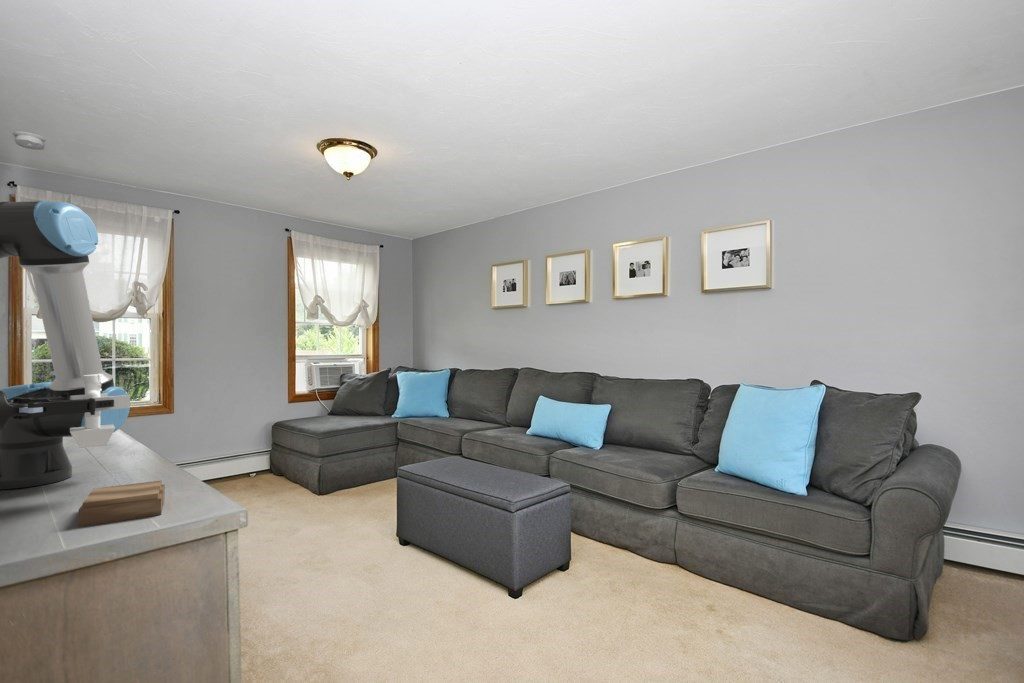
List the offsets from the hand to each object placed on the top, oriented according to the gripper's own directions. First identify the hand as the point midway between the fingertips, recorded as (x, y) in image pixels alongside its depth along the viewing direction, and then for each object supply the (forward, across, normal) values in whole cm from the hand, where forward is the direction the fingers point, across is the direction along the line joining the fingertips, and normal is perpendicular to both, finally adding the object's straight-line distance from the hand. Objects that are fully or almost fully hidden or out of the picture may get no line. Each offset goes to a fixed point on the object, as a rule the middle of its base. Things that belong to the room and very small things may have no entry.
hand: (117, 400), depth 112 cm
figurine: (-5, 0, -9) cm, 10 cm away
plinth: (-6, +17, -20) cm, 27 cm away
